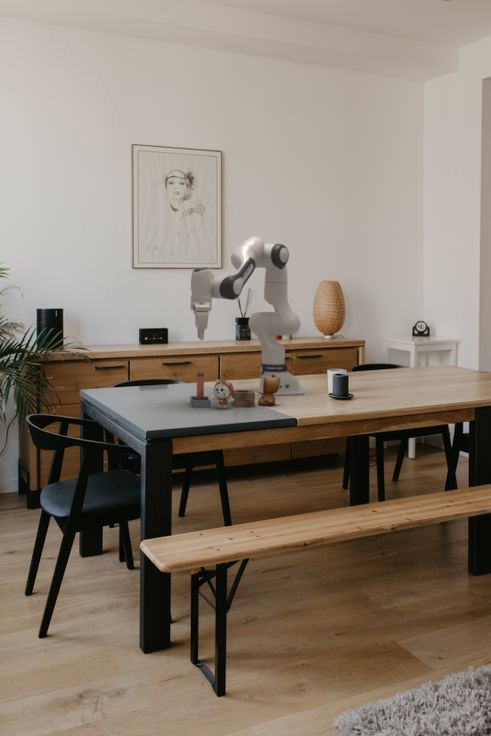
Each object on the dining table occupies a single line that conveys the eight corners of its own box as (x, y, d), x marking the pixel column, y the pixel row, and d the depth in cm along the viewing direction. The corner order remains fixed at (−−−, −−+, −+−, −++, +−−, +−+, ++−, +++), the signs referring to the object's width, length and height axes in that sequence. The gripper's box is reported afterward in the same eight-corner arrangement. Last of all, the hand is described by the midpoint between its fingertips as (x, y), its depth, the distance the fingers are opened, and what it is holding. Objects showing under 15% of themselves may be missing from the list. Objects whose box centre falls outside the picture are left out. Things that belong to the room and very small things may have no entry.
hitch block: (251, 403, 304) (251, 389, 304) (254, 406, 295) (255, 393, 295) (231, 403, 303) (231, 389, 302) (233, 407, 294) (234, 393, 293)
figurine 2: (255, 402, 306) (264, 370, 305) (272, 406, 307) (280, 374, 306) (258, 406, 296) (267, 373, 295) (274, 410, 297) (284, 377, 296)
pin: (203, 402, 299) (203, 373, 298) (203, 404, 296) (204, 374, 295) (196, 402, 299) (196, 373, 297) (196, 404, 296) (197, 373, 294)
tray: (208, 402, 304) (208, 396, 303) (210, 407, 293) (210, 400, 292) (189, 402, 302) (189, 396, 302) (191, 407, 292) (191, 400, 291)
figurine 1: (207, 409, 288) (208, 380, 287) (217, 405, 296) (217, 378, 295) (227, 411, 284) (228, 382, 283) (236, 407, 292) (237, 379, 291)
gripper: (192, 305, 302) (191, 336, 304) (195, 306, 282) (194, 340, 284) (206, 305, 303) (206, 336, 305) (210, 307, 283) (210, 340, 285)
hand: (200, 338), depth 294 cm, fingers open, 8 cm apart
